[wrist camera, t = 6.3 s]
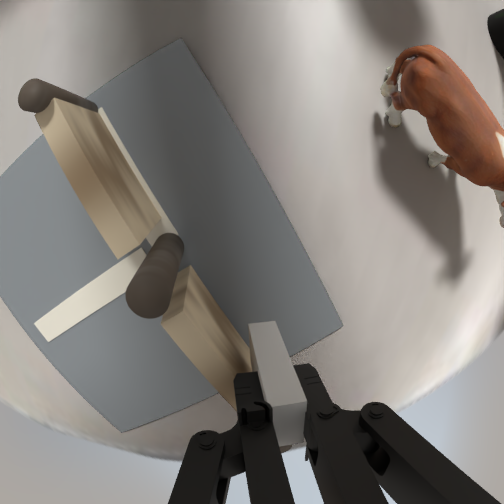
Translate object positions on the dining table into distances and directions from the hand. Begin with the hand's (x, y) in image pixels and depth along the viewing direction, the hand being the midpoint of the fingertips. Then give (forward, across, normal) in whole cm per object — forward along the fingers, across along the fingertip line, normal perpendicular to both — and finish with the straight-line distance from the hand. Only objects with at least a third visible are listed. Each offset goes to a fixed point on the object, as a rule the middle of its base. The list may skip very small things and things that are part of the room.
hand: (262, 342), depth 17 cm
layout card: (+4, -8, +3) cm, 9 cm away
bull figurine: (+4, +13, +12) cm, 18 cm away
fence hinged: (+3, -2, -1) cm, 4 cm away
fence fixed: (+3, -7, +9) cm, 12 cm away
